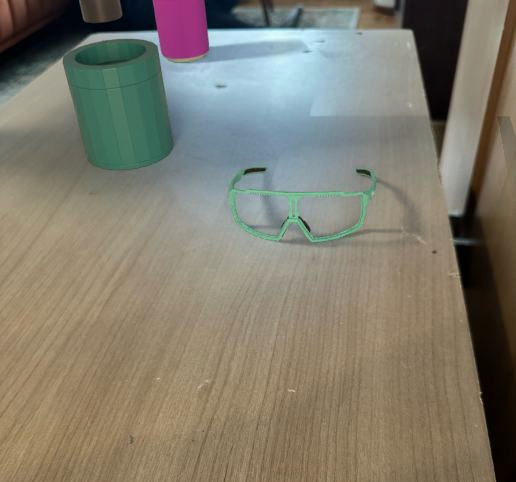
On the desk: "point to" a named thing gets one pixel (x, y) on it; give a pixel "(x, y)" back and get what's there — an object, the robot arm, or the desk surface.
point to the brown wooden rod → (100, 10)
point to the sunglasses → (295, 196)
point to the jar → (120, 102)
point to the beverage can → (182, 29)
